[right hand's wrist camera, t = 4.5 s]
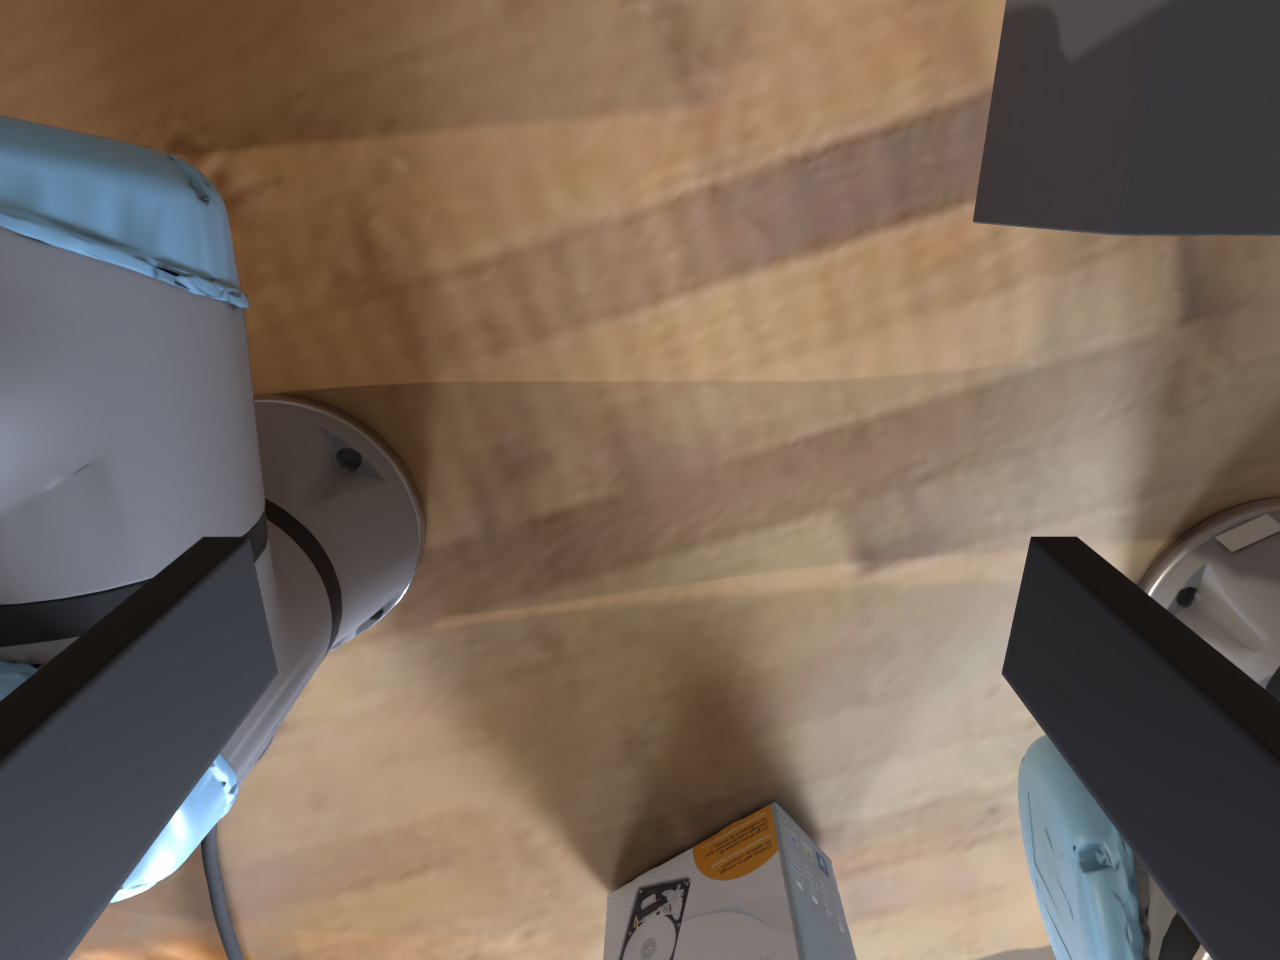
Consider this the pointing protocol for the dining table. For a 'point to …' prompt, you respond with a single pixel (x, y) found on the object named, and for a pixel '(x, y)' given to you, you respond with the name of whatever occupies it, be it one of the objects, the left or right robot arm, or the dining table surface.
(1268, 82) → the bar
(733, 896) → the hard drive box
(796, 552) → the dining table surface
